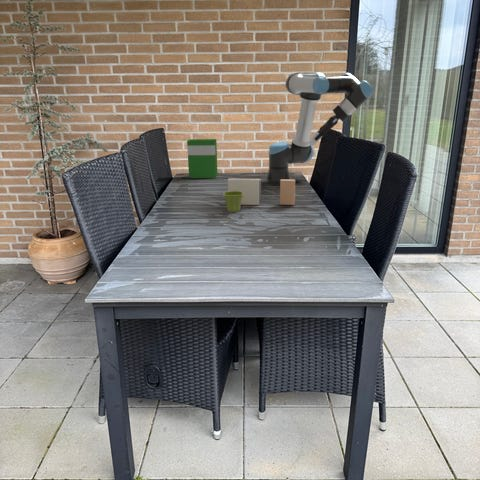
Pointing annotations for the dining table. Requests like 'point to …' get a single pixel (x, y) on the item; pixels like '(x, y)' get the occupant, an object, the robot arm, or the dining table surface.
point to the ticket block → (247, 190)
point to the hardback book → (202, 158)
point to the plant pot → (233, 200)
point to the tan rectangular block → (287, 192)
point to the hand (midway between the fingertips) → (310, 142)
